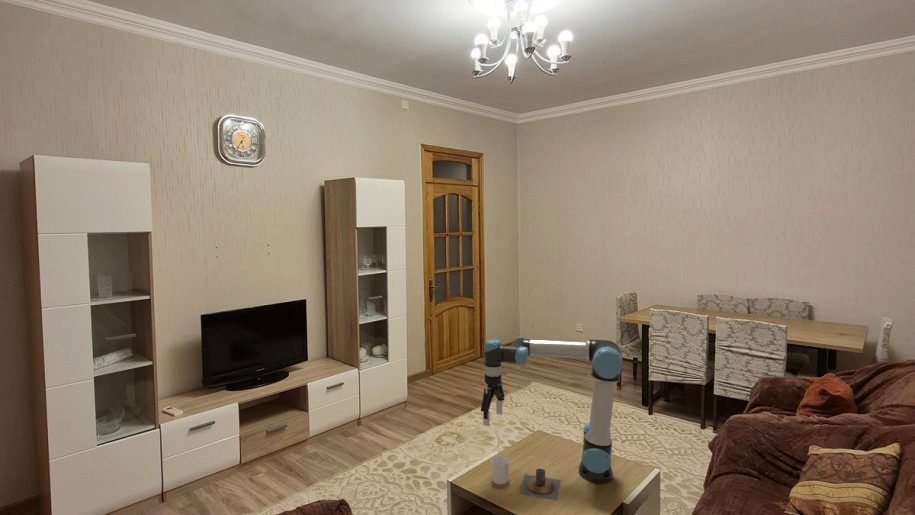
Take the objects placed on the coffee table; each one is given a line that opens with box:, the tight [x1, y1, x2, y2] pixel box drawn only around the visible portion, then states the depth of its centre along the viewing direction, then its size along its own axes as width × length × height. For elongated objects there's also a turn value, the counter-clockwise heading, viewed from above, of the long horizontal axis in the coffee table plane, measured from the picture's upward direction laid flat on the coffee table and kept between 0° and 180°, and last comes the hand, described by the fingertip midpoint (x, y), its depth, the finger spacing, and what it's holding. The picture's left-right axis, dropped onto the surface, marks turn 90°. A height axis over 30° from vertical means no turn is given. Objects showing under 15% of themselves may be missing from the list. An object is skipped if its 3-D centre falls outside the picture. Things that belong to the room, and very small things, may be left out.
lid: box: [527, 468, 554, 495], centre depth 215 cm, size 12×12×7 cm
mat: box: [518, 474, 561, 501], centre depth 216 cm, size 16×16×1 cm
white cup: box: [491, 455, 510, 485], centre depth 220 cm, size 8×8×10 cm
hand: (493, 419), depth 224 cm, fingers open, 13 cm apart
